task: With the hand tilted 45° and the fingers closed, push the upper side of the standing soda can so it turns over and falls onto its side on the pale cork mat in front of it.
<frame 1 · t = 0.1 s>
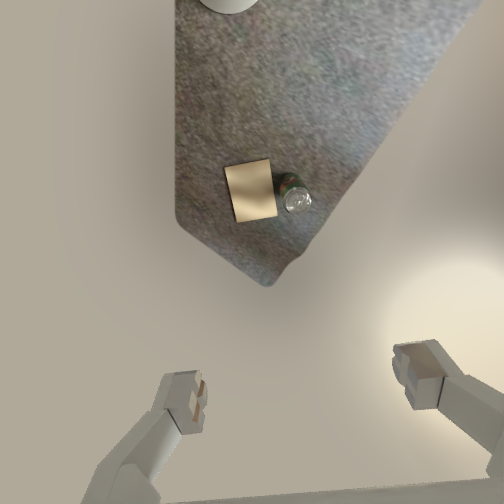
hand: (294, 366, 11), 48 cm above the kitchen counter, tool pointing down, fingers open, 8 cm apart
cork mat: (252, 191, 56), on the kitchen counter
soda can: (289, 184, 56), on the kitchen counter
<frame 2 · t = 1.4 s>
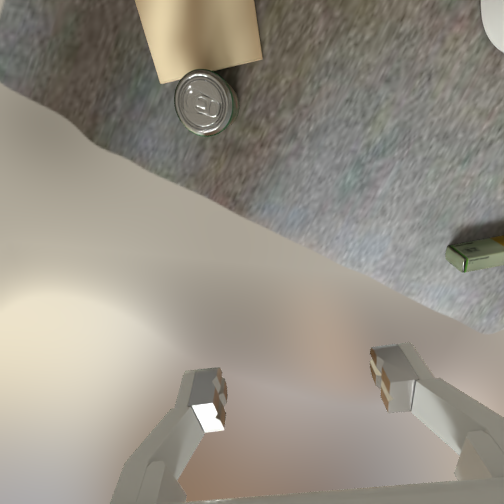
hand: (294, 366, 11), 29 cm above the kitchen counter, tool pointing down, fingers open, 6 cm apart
cork mat: (200, 22, 28), on the kitchen counter
medication box: (484, 244, 41), on the kitchen counter
soda can: (219, 105, 32), on the kitchen counter
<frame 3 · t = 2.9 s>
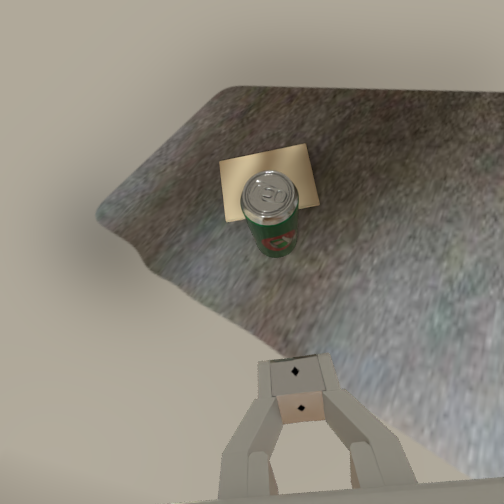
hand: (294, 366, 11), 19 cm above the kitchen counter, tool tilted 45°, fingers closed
cork mat: (267, 183, 35), on the kitchen counter
soda can: (276, 240, 33), on the kitchen counter
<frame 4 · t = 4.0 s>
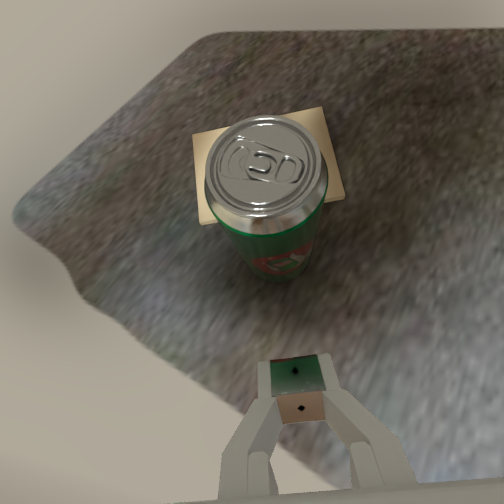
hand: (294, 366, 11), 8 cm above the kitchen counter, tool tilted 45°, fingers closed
cork mat: (263, 166, 23), on the kitchen counter
soda can: (277, 253, 21), on the kitchen counter
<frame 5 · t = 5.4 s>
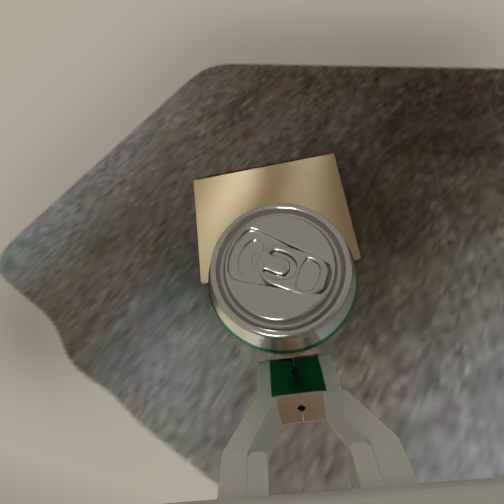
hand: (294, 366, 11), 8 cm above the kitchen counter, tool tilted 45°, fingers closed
cork mat: (270, 218, 22), on the kitchen counter
soda can: (286, 318, 19), on the kitchen counter, touching gripper
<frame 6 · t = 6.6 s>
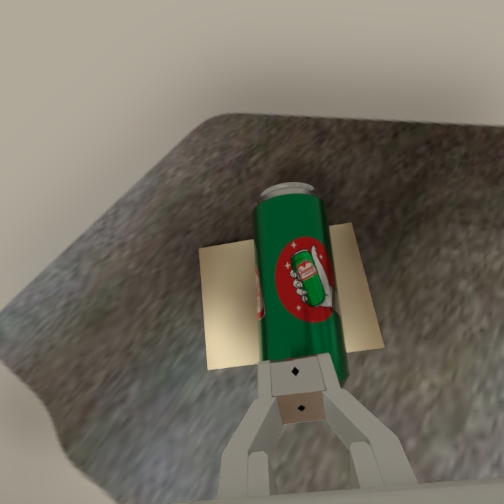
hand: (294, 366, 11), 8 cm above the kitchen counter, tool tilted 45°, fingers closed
cork mat: (282, 294, 20), on the kitchen counter
soda can: (305, 389, 15), point 3 cm above the kitchen counter, touching cork mat
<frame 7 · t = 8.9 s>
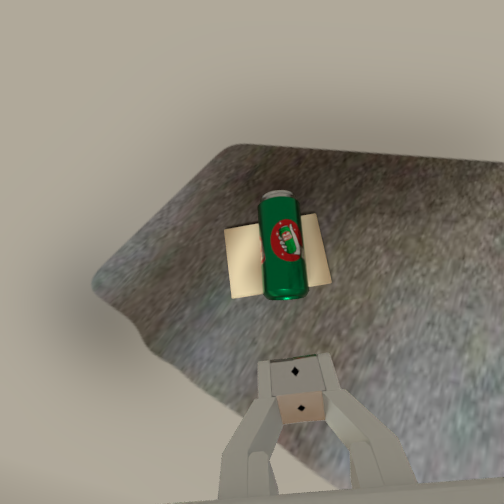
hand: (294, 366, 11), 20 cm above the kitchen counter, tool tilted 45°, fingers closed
cork mat: (275, 255, 33), on the kitchen counter
soda can: (286, 299, 29), point 3 cm above the kitchen counter, touching cork mat
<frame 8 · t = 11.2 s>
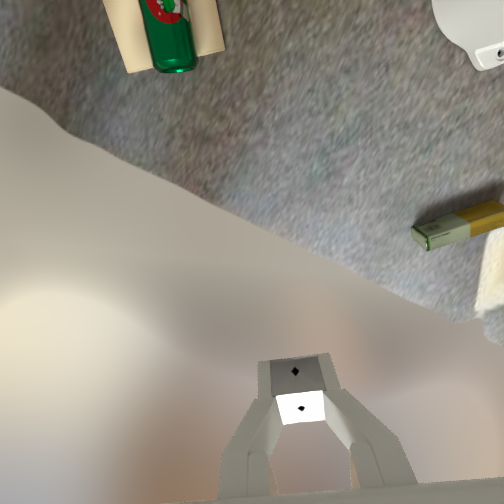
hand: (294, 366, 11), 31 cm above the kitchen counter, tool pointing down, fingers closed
cork mat: (163, 13, 30), on the kitchen counter
medication box: (449, 220, 42), on the kitchen counter
soda can: (177, 72, 30), point 3 cm above the kitchen counter, touching cork mat
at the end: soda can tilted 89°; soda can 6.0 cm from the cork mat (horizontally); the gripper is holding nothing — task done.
